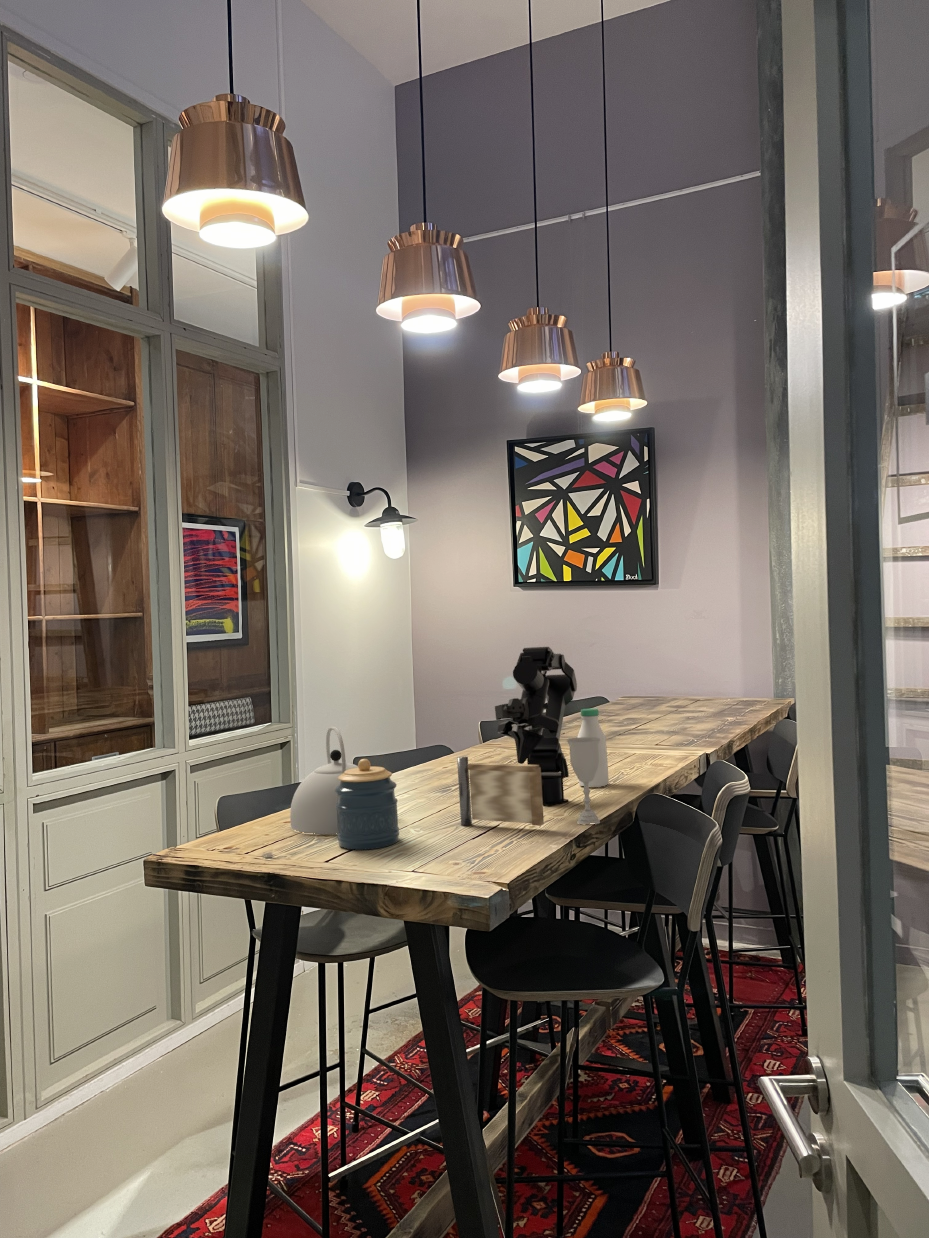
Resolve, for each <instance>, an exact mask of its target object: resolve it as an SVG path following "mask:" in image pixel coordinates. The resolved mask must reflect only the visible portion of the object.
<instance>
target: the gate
mask: <svg viewBox="0 0 929 1238" xmlns="http://www.w3.org/2000/svg"><path fill="white" fill-rule="evenodd" d="M468 770H469V785H470V802H471V818H472V820H476V821H489V822H491V821H492V822H504V823H505V822H507V823H521V824H532V826H539V827H541V826H542V825H544V824H545V817H544V816H545V815H544V805H543V800H542V783H541V767H539V765H528V764H527V763H526V764H525V763H523V764H519V763H491V762H489V763H487V762H471V763H468Z"/></svg>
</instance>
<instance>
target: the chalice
mask: <svg viewBox="0 0 929 1238" xmlns="http://www.w3.org/2000/svg"><path fill="white" fill-rule="evenodd" d="M599 741H600V738H594V737H581V738H578V737H574V738H568V739H567V740H566V742H567V744H568V745H569V758H570V760H569V761H570V765H571V767H572V770H573V772H574V775H576V777H577V779H578V782H579V781H581V782H583V783H584V787H583V790H582V793H583V794H584V797H583V800H582V801H583V802H584V809H583V810H582V811H580V813H579V815H578V819H577V821H576V824H577V823H579V824H578V825H580V824H590V823H595V825H599V824H600V823H601V821H600V820H599V816H598V814H597V813H596V811H594V810H592V808H591V805H590V803H591V800H592V799H591V797H590V793H591V790H590V788H589V787H588V785H589V782H591V781H592V780H593V778H594V776H595V773H596V771H597V768H598V764H599V750H598V743H599Z"/></svg>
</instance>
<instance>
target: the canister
mask: <svg viewBox="0 0 929 1238" xmlns="http://www.w3.org/2000/svg"><path fill="white" fill-rule="evenodd" d="M371 765H372V764H371V762H370V760H369V759H367V758H362V759H360V760H359V761H358V764H357V766H358V768H352V769H348V770H346V771H345V772H344V773H343V774H342V775H340V776H339V777H338V780H340V784H339V785H338V786H337V787H336V788H335V792H336V793H337V794H338V802H337V803H336V805H335V806H336V808H337V823H338V833H337V834H336V835H337V841H338V845H339V847H341V848H343V847H344V848H343V849H346V848H347V849H346V850H354V849H357V850H359V851H361V850H363V849H364V850H375V849H380V848H385V847H389V846H392V845H394V844H396V843H397V842H398V841H399V840H400V839H399V837H400V827H399V818H398V817H399V816H398V798H396V795H395V789H396V788H397V783H396V782H395V781H393V780H392V779H391V776H393V774H392V772H391V771H389V770H387V769H386V768H385V767H382V766H371ZM357 850H356V851H357ZM364 850H363V851H364Z"/></svg>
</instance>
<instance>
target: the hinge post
mask: <svg viewBox="0 0 929 1238" xmlns="http://www.w3.org/2000/svg"><path fill="white" fill-rule="evenodd" d="M456 761H457V764H456V765H457V781H458V796H459V797H458V798H459V811H460V813H459V814H460V826H462V827H470V826H472V825H473V823H472V822H473V821H472V820H473V819H472V806H471V790H470V773H469V770H468V764H469V758H468V756H457V757H456Z"/></svg>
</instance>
